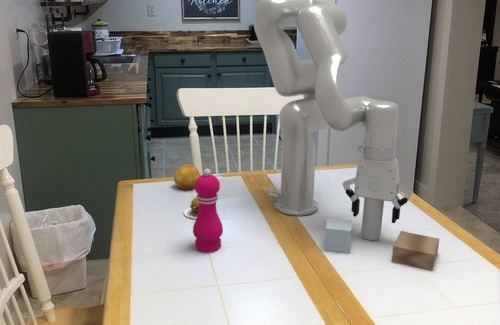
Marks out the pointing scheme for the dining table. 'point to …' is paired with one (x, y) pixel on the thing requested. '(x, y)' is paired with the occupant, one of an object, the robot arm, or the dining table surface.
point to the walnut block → (415, 250)
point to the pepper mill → (207, 214)
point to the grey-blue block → (338, 235)
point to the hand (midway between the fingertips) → (374, 218)
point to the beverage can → (372, 219)
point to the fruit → (186, 176)
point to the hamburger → (193, 208)
